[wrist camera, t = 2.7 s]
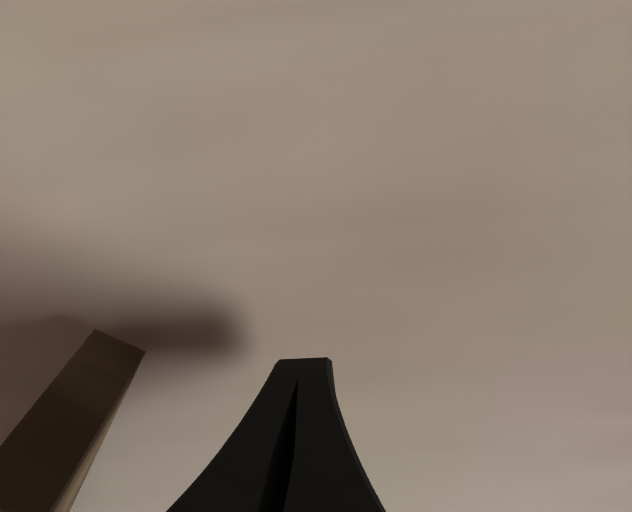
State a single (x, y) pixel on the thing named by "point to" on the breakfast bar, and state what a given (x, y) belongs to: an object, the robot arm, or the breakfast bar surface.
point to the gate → (66, 427)
